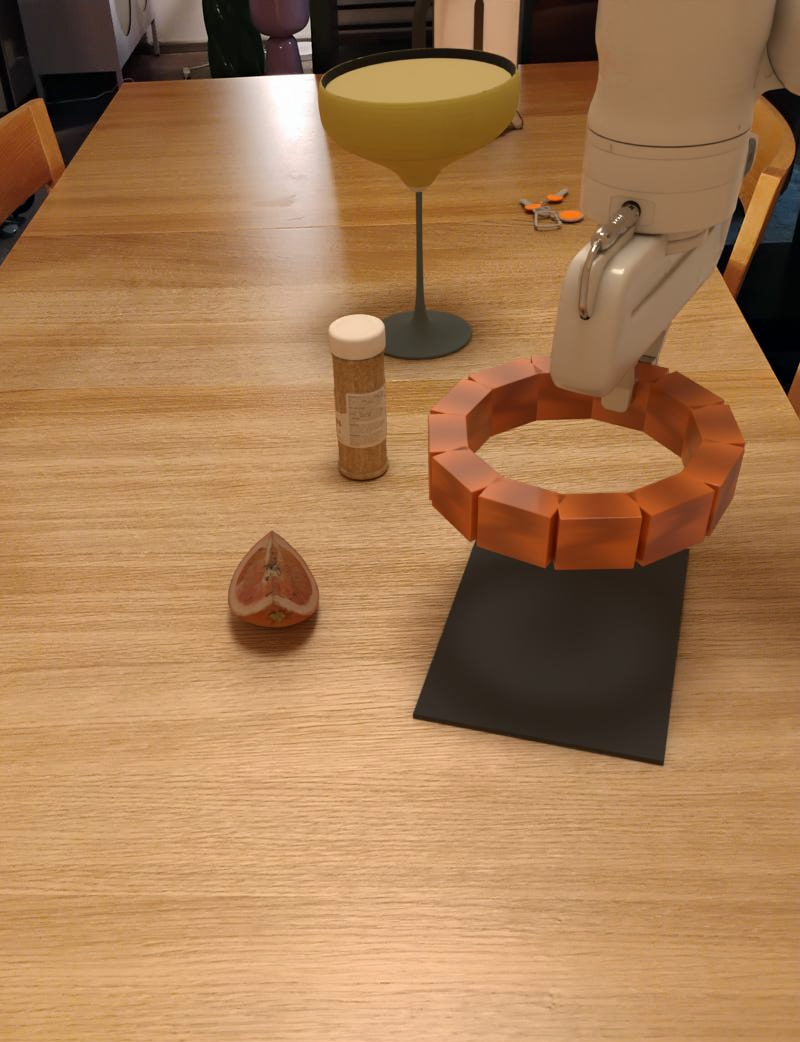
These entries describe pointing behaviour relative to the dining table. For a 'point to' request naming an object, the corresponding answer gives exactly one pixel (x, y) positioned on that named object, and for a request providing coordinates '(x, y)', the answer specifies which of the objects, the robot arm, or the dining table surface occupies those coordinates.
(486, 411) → the ring
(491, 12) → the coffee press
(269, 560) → the fruit slice
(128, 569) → the dining table surface
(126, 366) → the dining table surface
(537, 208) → the key chain
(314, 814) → the dining table surface
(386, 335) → the cocktail glass
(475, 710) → the mat
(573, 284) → the robot arm
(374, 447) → the sprinkles bottle
